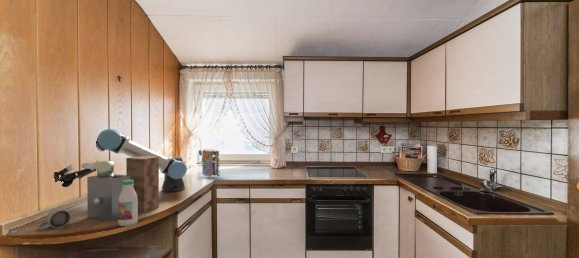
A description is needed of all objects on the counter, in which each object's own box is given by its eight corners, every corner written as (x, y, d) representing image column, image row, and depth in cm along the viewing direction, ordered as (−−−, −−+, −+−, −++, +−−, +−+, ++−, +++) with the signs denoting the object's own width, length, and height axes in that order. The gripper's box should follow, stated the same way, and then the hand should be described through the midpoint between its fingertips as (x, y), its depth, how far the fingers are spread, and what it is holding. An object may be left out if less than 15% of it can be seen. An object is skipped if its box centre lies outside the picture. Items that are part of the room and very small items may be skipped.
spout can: (90, 173, 147) (90, 159, 147) (117, 175, 141) (117, 161, 141) (77, 175, 140) (77, 161, 140) (104, 177, 134) (104, 163, 134)
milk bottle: (128, 219, 133) (128, 178, 133) (141, 221, 131) (141, 179, 130) (114, 225, 125) (114, 181, 125) (127, 227, 123) (127, 182, 123)
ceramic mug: (65, 221, 130) (65, 205, 130) (71, 225, 125) (70, 208, 125) (35, 228, 122) (35, 211, 122) (40, 233, 117) (39, 215, 117)
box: (195, 176, 248) (195, 149, 247) (201, 175, 253) (201, 148, 252) (214, 179, 233) (214, 150, 233) (219, 178, 238) (219, 150, 238)
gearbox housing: (106, 211, 146) (106, 172, 145) (130, 214, 141) (129, 174, 140) (83, 218, 134) (83, 176, 134) (108, 222, 129) (107, 178, 129)
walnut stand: (141, 205, 157) (141, 156, 157) (158, 207, 154) (158, 156, 153) (126, 210, 148) (126, 157, 148) (144, 212, 144) (144, 158, 144)
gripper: (87, 184, 160) (111, 167, 154) (36, 194, 136) (62, 175, 131) (82, 172, 161) (106, 155, 155) (31, 180, 137) (56, 160, 132)
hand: (86, 164), depth 143 cm, fingers open, 13 cm apart
